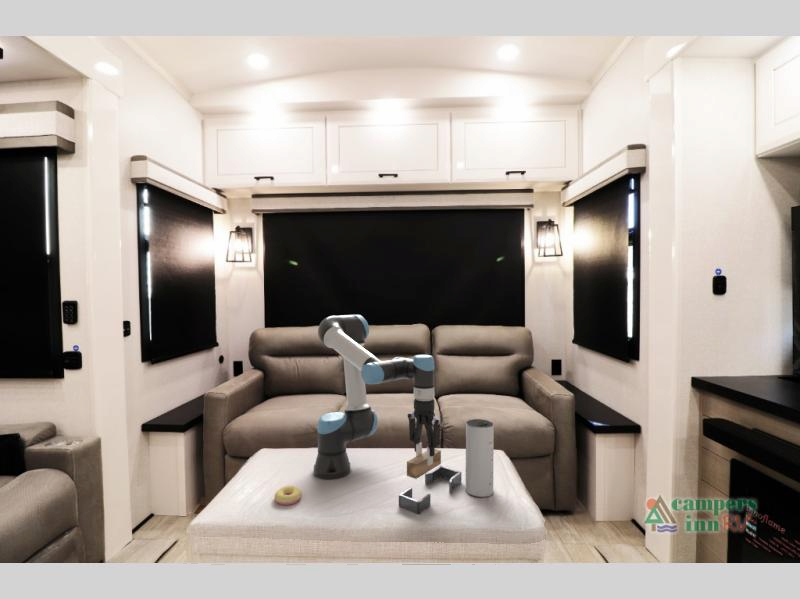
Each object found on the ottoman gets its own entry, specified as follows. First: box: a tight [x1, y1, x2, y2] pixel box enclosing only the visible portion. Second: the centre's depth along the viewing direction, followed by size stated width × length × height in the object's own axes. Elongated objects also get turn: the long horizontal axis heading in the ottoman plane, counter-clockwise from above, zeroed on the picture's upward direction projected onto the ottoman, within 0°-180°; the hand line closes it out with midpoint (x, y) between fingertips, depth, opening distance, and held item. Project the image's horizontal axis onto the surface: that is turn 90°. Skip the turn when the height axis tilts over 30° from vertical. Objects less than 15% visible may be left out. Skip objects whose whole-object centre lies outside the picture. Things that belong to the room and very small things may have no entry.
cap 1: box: [398, 487, 431, 515], centre depth 142 cm, size 9×7×4 cm
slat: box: [406, 448, 442, 480], centre depth 147 cm, size 4×16×5 cm, turn 143°
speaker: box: [465, 418, 495, 498], centre depth 153 cm, size 11×10×26 cm
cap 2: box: [424, 465, 462, 494], centre depth 158 cm, size 12×10×4 cm
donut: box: [274, 485, 303, 506], centre depth 147 cm, size 10×5×9 cm
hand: (424, 462), depth 147 cm, fingers closed on slat, 4 cm apart
